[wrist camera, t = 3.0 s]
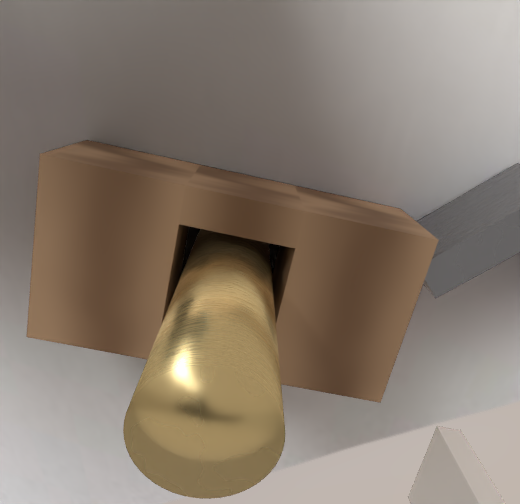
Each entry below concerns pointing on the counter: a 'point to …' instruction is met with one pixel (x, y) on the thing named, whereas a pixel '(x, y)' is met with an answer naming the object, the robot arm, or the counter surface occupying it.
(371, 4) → the counter surface
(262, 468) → the axle
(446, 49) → the counter surface
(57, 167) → the wooden block with hole
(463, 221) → the v block
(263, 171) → the counter surface
